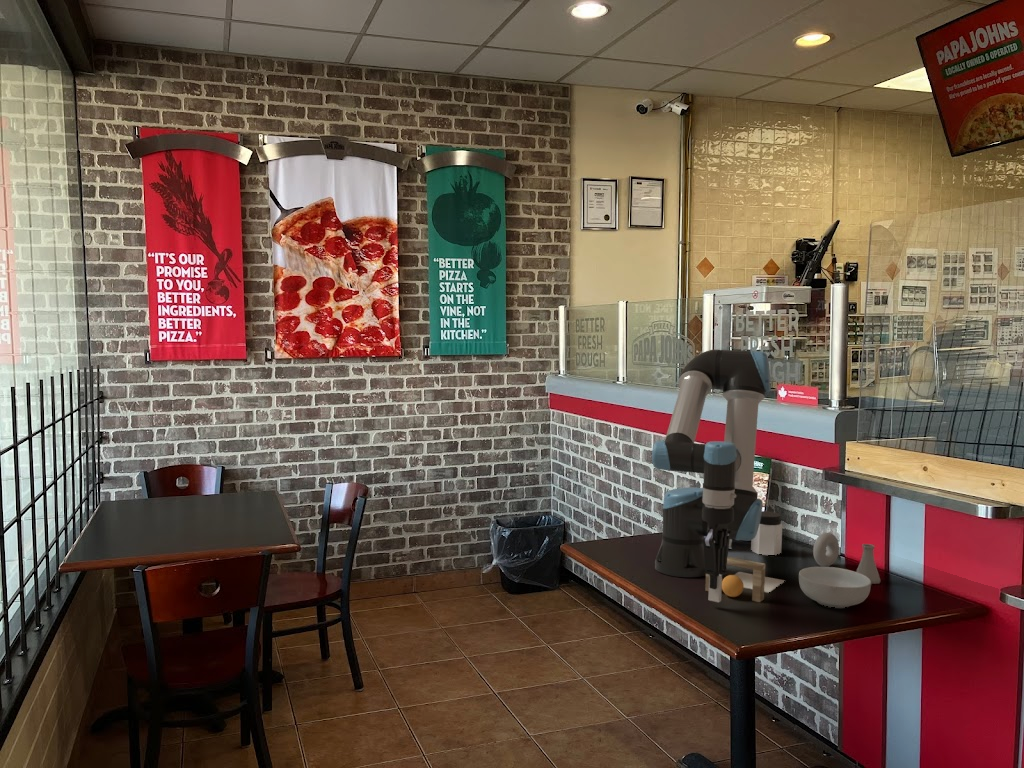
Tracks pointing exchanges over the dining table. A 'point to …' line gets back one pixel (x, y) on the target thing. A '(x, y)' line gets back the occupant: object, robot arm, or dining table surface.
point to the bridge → (757, 576)
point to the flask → (868, 564)
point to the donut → (820, 548)
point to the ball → (732, 585)
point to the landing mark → (769, 582)
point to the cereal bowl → (834, 586)
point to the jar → (768, 535)
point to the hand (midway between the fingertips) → (714, 600)
